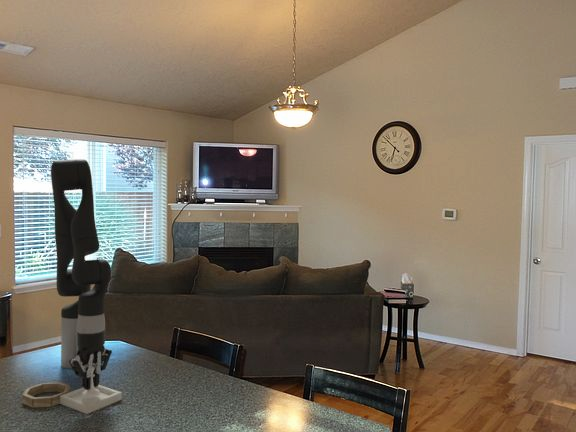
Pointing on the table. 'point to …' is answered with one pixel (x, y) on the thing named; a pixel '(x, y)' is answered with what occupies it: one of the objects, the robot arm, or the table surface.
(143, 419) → the table surface
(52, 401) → the holder ring
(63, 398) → the tray
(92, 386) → the chess piece
